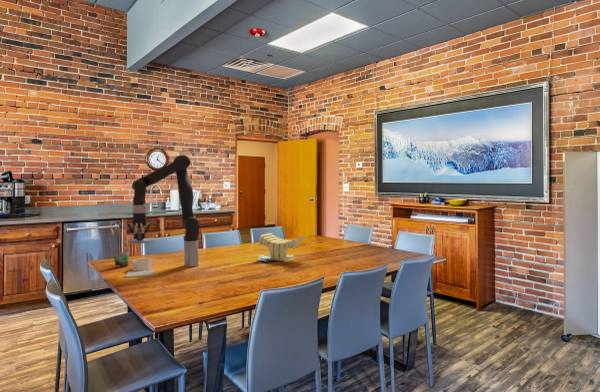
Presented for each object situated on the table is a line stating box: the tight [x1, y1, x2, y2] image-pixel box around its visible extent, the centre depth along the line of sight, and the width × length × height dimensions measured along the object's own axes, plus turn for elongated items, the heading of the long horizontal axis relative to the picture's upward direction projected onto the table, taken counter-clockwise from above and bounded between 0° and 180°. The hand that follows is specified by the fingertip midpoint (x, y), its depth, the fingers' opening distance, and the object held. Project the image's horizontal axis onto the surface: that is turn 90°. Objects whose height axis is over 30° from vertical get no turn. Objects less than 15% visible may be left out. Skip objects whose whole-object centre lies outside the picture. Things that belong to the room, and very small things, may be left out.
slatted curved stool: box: [258, 232, 306, 263], centre depth 269 cm, size 30×16×18 cm, turn 61°
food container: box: [113, 249, 131, 269], centre depth 248 cm, size 12×6×10 cm, turn 168°
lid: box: [128, 231, 151, 245], centre depth 231 cm, size 12×12×6 cm
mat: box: [124, 269, 156, 278], centre depth 228 cm, size 16×12×1 cm
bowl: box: [132, 257, 152, 271], centre depth 241 cm, size 11×11×6 cm
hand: (139, 239), depth 231 cm, fingers closed on lid, 3 cm apart
